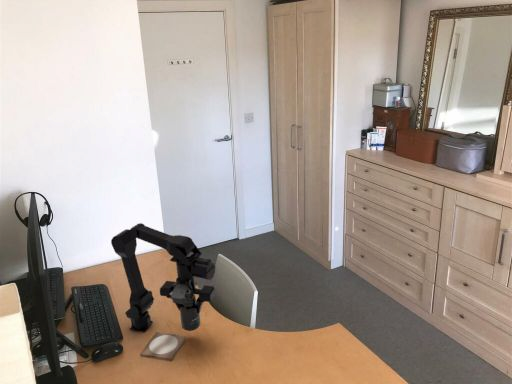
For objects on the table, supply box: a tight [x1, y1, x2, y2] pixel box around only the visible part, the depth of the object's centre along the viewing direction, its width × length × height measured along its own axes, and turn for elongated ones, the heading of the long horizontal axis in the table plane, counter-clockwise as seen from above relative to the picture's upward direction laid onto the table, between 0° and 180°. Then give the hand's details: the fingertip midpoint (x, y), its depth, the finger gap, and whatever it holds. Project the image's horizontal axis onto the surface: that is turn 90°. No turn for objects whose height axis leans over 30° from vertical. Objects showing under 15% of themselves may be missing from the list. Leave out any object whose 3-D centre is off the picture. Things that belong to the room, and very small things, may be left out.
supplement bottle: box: [179, 294, 201, 332], centre depth 157 cm, size 7×7×12 cm
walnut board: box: [140, 331, 187, 362], centre depth 159 cm, size 12×12×1 cm
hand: (189, 311), depth 157 cm, fingers closed on supplement bottle, 7 cm apart
